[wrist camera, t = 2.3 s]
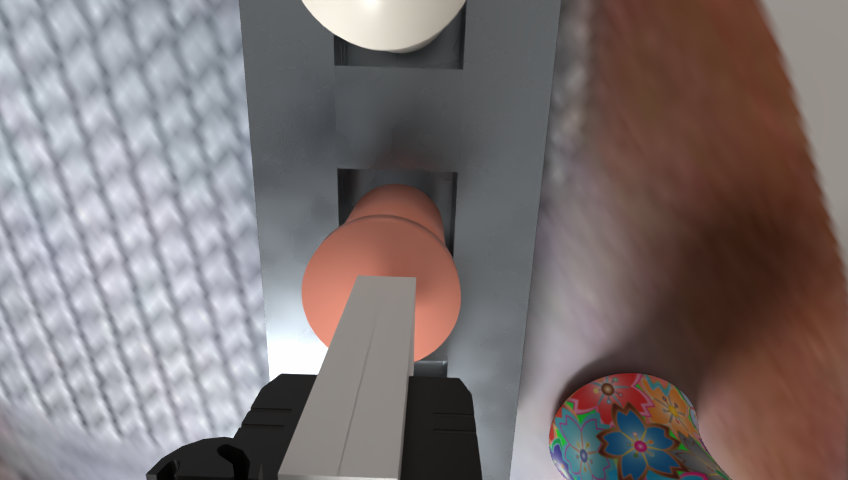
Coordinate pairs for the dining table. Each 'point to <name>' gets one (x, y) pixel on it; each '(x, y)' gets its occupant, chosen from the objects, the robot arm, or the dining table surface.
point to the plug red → (386, 263)
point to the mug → (630, 433)
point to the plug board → (407, 174)
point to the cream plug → (386, 21)
